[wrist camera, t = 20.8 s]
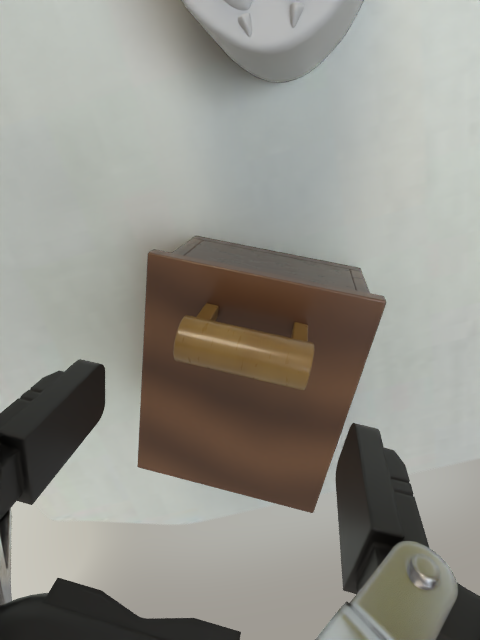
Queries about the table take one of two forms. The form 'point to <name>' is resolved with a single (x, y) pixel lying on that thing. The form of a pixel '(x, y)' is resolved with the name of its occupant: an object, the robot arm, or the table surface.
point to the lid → (248, 376)
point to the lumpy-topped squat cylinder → (276, 32)
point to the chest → (275, 263)
